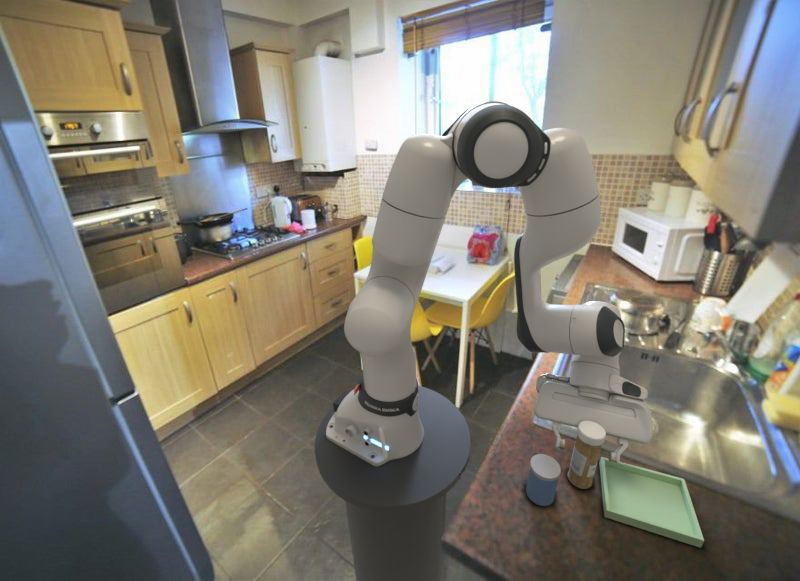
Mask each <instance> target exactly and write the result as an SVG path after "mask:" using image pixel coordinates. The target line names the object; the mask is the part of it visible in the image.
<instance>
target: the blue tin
mask: <svg viewBox="0 0 800 581" xmlns="http://www.w3.org/2000/svg"><path fill="white" fill-rule="evenodd" d="M561 472H562V468H561V466H560V464H559V462H558V460H556V459H555V458H554V457H552V456H550V455H548V454H544V453H538V454H535V455H533V456H532V457H531V458H530V461H529V472H528V477H527V482H526V489H525V491H526V496H527V497H528V499H529V500H530V501H531V502H532V503H534V504H535V505H538V506H541V507H547V506H550V505H552V504H553V503H554V500H555V495H556V492H557V487H558V483H559V478H560V477H561Z"/></svg>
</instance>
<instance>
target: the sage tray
mask: <svg viewBox="0 0 800 581" xmlns="http://www.w3.org/2000/svg"><path fill="white" fill-rule="evenodd" d="M598 464H599V474H600V488H601V496H602V497H601V498H602V506H603V507H602V509H603V517H604V518H606V519H609V520H613V521H615V522H618V523H621V524H624V525H628V526H631V527H634V528H636V529H637V528H638V529H640V530H644V531H646V532H650V533H653V534H656V535H659V536H662V537H665V538H669V539H670V540H671V539H672V540H675V541H678V542H680V543H684V544H687V545H690V546H693V547H696V548H700V549H701V548H702V546H703V545H704V542H705V538H704V536H703V532H702V529H701V526H700V523H699V520H698V517H697V514H696V511H695V507H694V505H693V501H692V498H691V495H690V492H689V489H688V485H687V483H686V479H685V478H683V477H678V476H674V475H672V474H667V473H663V472H660V471H656V470H652V469H648V468H645V467H642V466H637V465H634V464H630V463H627V462H624V461H623V462H622V461H620V464H616V463H612V462H609V457H604V456H601V457H600V459H599V462H598Z"/></svg>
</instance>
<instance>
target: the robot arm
mask: <svg viewBox="0 0 800 581" xmlns="http://www.w3.org/2000/svg"><path fill="white" fill-rule="evenodd" d="M391 165H392V166H391V167H390V171H389V173H388V176H387V180H386V182H385V185H384V188H383V189H384V190H383V193H382V197H381V201H380V205H379V209H378V213H377V217H376V221H375V226H374V230H373V234H372V238H371V245H372V248H371V249H372V251H371V259H370V260H371V261H370V267H369V271H368V274H367V276H366V278H365V281H364V283H363V285H362V286H361V287H360V289H359V291H358V292H357V293H356V295H355V296H354V298H353V299H352V300H351V302H350V304H349V306H348V309H347V312H346V316H345V320H344V324H343V331H344V336H345V338H346V341H347V342H348V343H349V344H350V346H351V347H352V348H353V349H355V350H356V351H357V352H359V355H360V358H361V367H362V374H363V375H362V377H361V378H360V379H359V380H358V381H357V385H356V386H355V387H354V388H353V389H352V390H351V391H348V390H345V391H343V392H342V394H340V395H339V396H338V397H337V398H336V399H335V400H334V401H333V402H332V408H333V407H334V411H335V413H334V415H333V416H332V418H331V419H330V421H329V423H328V425H327V429H326V438H327V439H328V440H330V441H332V442H333V443H335V444H337V445H339V446H340V447H342V448H344V449H345V450H347V451H349V452H351V453H352V454H354V455H356V456H358V457H359V458H361V459H363V460H365V461H366V462H368V463H370V464H372V465H373V466H380V465H383V464H384V463H386V462H388V461H390V460H393V459H398V458H402V457H405V456H408V455H410V454H411V453H413V452H414V451H415V450H416V449H417V448H418V447H419V446H420V445H421V443H422V441H423V438H424V429H423V426H422V423H421V421H420V417H419V412H418V404H419V393H418V386H419V381H418V379H417V354H416V349H415V348H414V347H413V343H412V335H411V332H412V330H411V328H412V322H413V316H414V313H415V310H416V308H417V304H418V301H419V299H420V295H421V292H422V289H423V287H424V284H425V280H426V277H427V274H428V272H429V268H430V265H431V262H432V259H433V257H434V253H435V250H436V247H437V245H438V242H439V238H440V235H441V232H442V229H443V226H444V223H445V221H446V217H447V215H448V212H449V208H450V205H451V201H452V198H453V197H454V194H455V193H456V191H457V190H458V189H459V187H460V186H461V185H462V184H463V183H464V182H465V181H467V180H469V181H470V182H472V183H473V184H475V185H477V186H479V187H482V188H487V189H505V188H518V190H519V193H520V195H521V200H522V205H523V209H524V213H525V219H526V220H525V221H526V223H525V228H524V232H523V233H522V234H520V235H519V236H518V237H517V239H516V241H515V245H514V250H513V263H514V264H513V265H514V266H513V268H514V282H515V283H514V284H515V295H516V296H515V297H516V298H515V299H516V310H517V312H516V313H517V314H516V336H517V339H518V340H519V342H520V343H521V344H522V345H523V347H524V348H526V349H527V351H529V352H530V353H538V354H539V353H542V354H543V353H547V354H549V353H555V354H562V355H572V358H571V361H570V365H569V376H564V375H557V374H553V373H548V372H546V373H545V374H541V375H539V376H538V377H537V379H536V384H535V390H536V392H537V393H538V394H537V397H536V401H535V404H534V410H533V413H534V415H535V417H536V418H538V419H541V420H544V421H545V420H546V421H550V422H551V429H552V431H553V434H554V436H555V438H556V440H555V448H557V449H560V450H565V449H566V448H565V447H566V445H565V444H566V439H564V438H562V437H561V435H560V433H559V430H560V429H561V425H566V426H570V427H573V428H577V429H578V425H579V424H580V422H582V421H593V422H595V423H597V424H599V425H601V426H602V427H603V428H604V430H605V432H606V436H610V437H614V438H616V444H617V445H619V446H618V447H617V449H615V450H614V451H609V452H608V456H609V457H608V459H609V462H612V463H616V464H620V462H621V455H622V454H623V453H625V451H626V449H627V448H628V447H629V441H631V442H634V443H638V444H643V445H648V444H649V443H650V442H652V441H653V439H654V438H653V437H654V423H653V421H654V420H653V414H652V410H651V407H650V406H649V404H648V403H647V402H645V400H647V399H648V395H649V392H648V389H647V388H645V387H643V386H641V385H639V384H637V383H634V382H633V381H631V380H628V379H626V378H625V377H622V376H621V367H620V362H619V360H620V355H621V353H622V351H623V350H624V348H625V336H626V335H625V334H626V326H625V323H624V321H623V319H622V315H621V314H622V313H621V311H620V309H619V308H618V306H616V305H614V304H612V303H610V302H607V301H604V300H603V301H602V300H590V301H587V302H585V303H583V304H555V303H554V304H552V303H548V302H546V301H544V300H543V297H542V269H543V268H544V267H546V266H548V265H551V264H552V263H554V262H556V261H559V260H561V259H564V258H567V257H569V256H571V255H573V254H575V253H577V252H578V251H579V250H581V249H583V248H584V247H586V245H588V244H589V243H590V241H591V240H593V239H594V237H595V236H596V234H597V232H598V231H599V229H600V227H601V223H602V204H601V197H600V196H601V195H600V190H599V185H598V184H599V183H598V179H597V175H596V171H595V168H594V164H593V159H592V157H591V154H590V151H589V149H588V146H587V144H586V141H585V140H584V137H583V136H582V134H581V133H580V132H579V131H577V130H576V129H573V128H569V127H552V128H549V129H546V130H542V129H541V127H539V126H538V125H537V124H536V122H535V121H534V120H533V119H532V118H531V117H530V116H529V115H528V114H527V113H525V112H524V111H523V110H521V109H519V108H517V107H515V106H513V105H510V104H508V103H505V102H502V101H496V100H495V101H494V100H493V101H485V102H481V103H477V104H475V105H473V106H471V107H469V108H468V109H466V110H464V112H462V113H461V114H460V115H459V116H458V117H457V118H456V120H454V122H453V123H452V124H451V125H450V126H449V127H448V128H447V129H446V130H445V131H444V132H442V135H436V134H431V133H417V134H414V135H411V136H409V137H408V138H406V139H405V140H403V142H402V144H401V145H400V147H399V150H398V152H397V153H396V156H395V158H394V160H393V163H392V164H391ZM372 457H374V458H372Z"/></svg>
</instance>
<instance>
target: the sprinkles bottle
mask: <svg viewBox="0 0 800 581" xmlns="http://www.w3.org/2000/svg"><path fill="white" fill-rule="evenodd" d="M606 437H607V435H606V432H605V430H604V428H603V427H602V426H601V425H599V424H597V423H595V422H593V421H582V422H580V424H579V425H578V428H577V429H576V438H575V442H574V444H573V449H572V454H571V458H570V459H571V460H570V462H569V463H570V465H569V470H568V471H567V479H568V481H569V482H570V483H571V485H573V486H574V487H576V488H578V489H581V490H587V489H590V488H591V487H592V486H593V479H594V476H595V473H596V470H597V467H598V466H597V465H598V463H599V462H598V461H599V460H600V459H599V458H600V453H601V449H602V446H603V444H604V443H605V440H606Z"/></svg>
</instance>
